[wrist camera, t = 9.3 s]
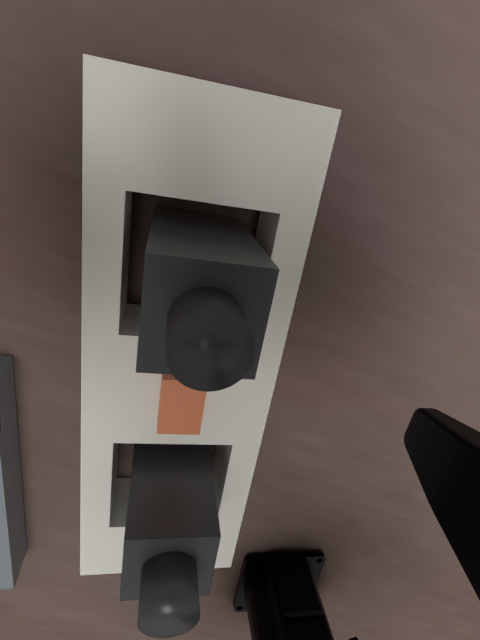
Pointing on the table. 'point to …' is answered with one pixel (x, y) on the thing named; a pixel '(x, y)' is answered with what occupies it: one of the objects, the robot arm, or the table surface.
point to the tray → (10, 482)
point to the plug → (203, 299)
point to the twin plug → (170, 536)
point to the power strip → (123, 318)
